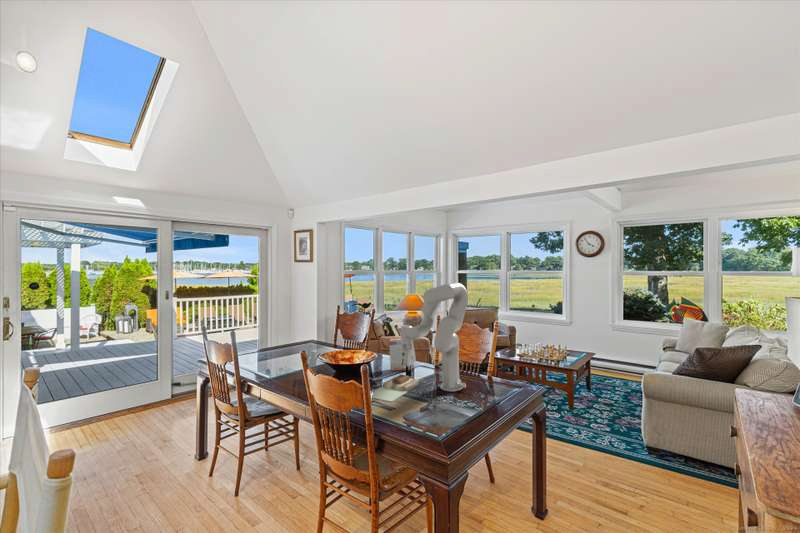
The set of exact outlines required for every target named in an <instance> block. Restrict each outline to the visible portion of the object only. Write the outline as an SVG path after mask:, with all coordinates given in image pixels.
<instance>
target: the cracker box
mask: <svg viewBox="0 0 800 533" xmlns="http://www.w3.org/2000/svg"><path fill="white" fill-rule="evenodd" d="M388 342H389V359H390V360H389V362H390V372H401V371H402V372H406V370H405V368H403V366H402V365H401V337H399V338H390V339H389V341H388ZM412 369H413V368H412ZM412 369H411V371H412Z"/></svg>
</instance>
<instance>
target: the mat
mask: <svg viewBox="0 0 800 533" xmlns="http://www.w3.org/2000/svg"><path fill="white" fill-rule="evenodd" d="M374 391H375V392H374ZM371 392H373V395H372V398H371V399H376V400H379V401H380V400H381V401H385V402H389V403H392V402H393V401H396V400H397V399H399V398H400V397H402V396H403V395H405V394H407V393H408V391H401V390H396V389H390V388H385V387H383V386H380V387H378V388H376V389H375V390H373V391H371ZM374 395H375V396H374Z"/></svg>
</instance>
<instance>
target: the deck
mask: <svg viewBox="0 0 800 533" xmlns="http://www.w3.org/2000/svg"><path fill="white" fill-rule="evenodd" d="M397 376H398V375H397ZM397 376H394V377H392V378H391V379H388V380H386V381H385V382H383V383H382V387H385V388H390V389H396V390H401V391H407V392H409V391H410V390H411V389H413V388H415V387H417V386H418V385H420V381H419V380H420V379H417V378H415V379H414V378H411V377H409V380H408V381H407V382H405V383H403V384H395V383H392V379H393V378H395V377H397Z"/></svg>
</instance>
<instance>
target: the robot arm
mask: <svg viewBox="0 0 800 533" xmlns="http://www.w3.org/2000/svg"><path fill="white" fill-rule="evenodd" d="M422 298H423V302H424V303H423V305H422V307H421V308H420V311H421V313H422V314H423V317H422V320H421V321H420V324H418V325H416V326H412V325H410V324H404V325H402V326H401V327H400V338H401V365H402V366H403V368H405V370H406V371H405V375H406V376H409V378H411V376H413V375H412V370H411V369H413V366H414V364H416V360H417V359H416V351H415V345H414V341H415V340H416V341H417V340H420V339H422V338H424V337H426V336H427V335H428V334H429V333H430V332H431V329H432V327H433V325H434V323H435V322H434V321H435V315H436V313H437V311H438V310H439V307H440V306H441V303H442V302H444V301H447V300H451V299H453V300H452V303H451V304H450V307H449V312H448V315H447V316H444V317H442V318H441V319H440V320H439V322H438V326H437V330H436V333H435V336H434V342H433V343H434V344H433V345H434V348H435V350H436V351H437V352H438V353H441V374H442V377H441V380H442V383H441V384H440V386H439V388H440V390H442V391H445V392H459V391H461V390H462V389H463V388H464V389H466V387H467V384H466V382H462V379H461V378H460V364H459V363H460V360H459V355H460V354H459V352H460V350H459V349H460V339H459V335H457V333H456V332H458V331H459V330H461V328H462V326H463V321H464V317H465V314H466V310H467V307H468V302H469V293H468V290H467V288H466V287H465V286H464V285H463V284H462V283H461V282H456V281H455V282H449V283H445V284H442V285H439V286H435V287H433V288H428V289H427V290H425V291H424V293H423V295H422Z"/></svg>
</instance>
